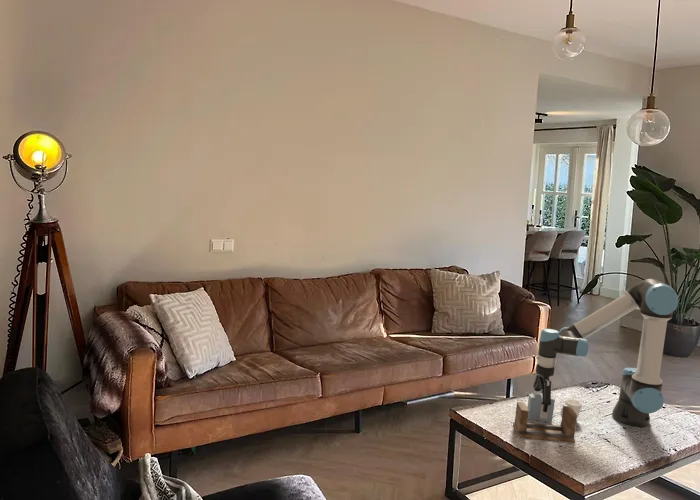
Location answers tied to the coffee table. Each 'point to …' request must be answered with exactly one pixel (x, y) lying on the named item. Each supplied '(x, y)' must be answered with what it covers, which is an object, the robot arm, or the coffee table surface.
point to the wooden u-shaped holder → (545, 426)
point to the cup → (573, 406)
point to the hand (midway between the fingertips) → (539, 411)
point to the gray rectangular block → (539, 407)
